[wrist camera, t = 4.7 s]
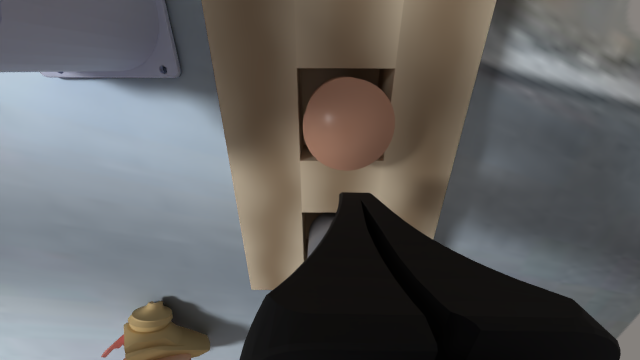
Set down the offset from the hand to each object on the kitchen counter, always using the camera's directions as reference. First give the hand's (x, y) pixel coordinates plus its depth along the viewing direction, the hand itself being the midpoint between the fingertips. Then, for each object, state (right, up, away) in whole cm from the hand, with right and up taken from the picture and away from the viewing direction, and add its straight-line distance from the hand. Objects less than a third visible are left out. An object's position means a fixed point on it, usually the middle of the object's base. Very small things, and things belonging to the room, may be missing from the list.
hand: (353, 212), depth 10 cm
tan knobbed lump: (-19, -16, +18) cm, 31 cm away
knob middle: (0, +5, +4) cm, 7 cm away
